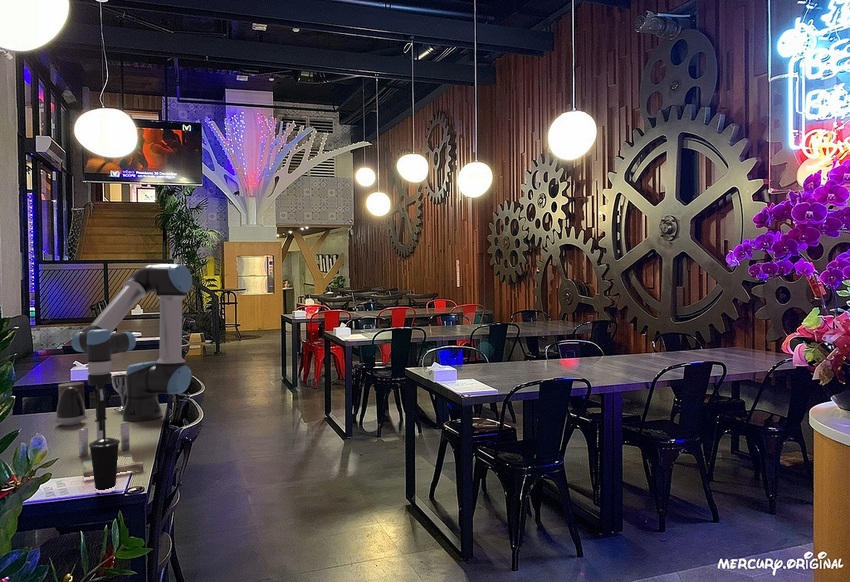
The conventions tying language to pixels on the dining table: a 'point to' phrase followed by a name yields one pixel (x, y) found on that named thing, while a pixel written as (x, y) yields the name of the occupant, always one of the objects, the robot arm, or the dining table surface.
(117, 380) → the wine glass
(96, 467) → the drinking cup
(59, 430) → the dining table surface
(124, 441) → the post
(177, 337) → the robot arm
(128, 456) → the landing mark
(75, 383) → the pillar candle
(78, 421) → the black tapered dome
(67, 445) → the dining table surface
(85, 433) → the post
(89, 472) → the stopper wall
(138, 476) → the dining table surface
